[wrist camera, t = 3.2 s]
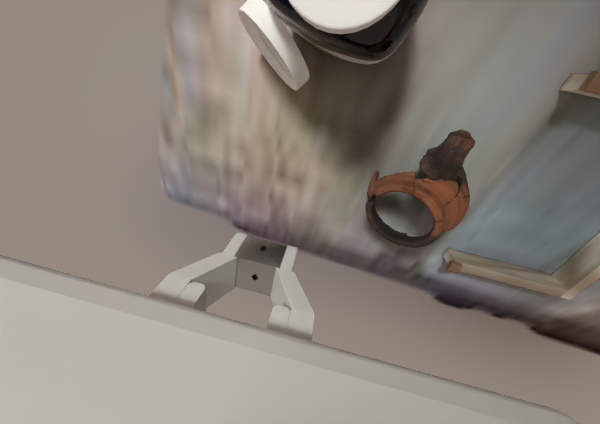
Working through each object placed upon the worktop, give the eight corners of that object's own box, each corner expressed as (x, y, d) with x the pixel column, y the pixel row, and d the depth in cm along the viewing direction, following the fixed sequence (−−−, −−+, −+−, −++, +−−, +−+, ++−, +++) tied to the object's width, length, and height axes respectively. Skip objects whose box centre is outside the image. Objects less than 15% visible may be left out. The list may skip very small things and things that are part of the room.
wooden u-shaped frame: (563, 72, 19) (599, 71, 16) (751, 113, 18) (819, 120, 16) (437, 253, 30) (447, 271, 27) (553, 283, 29) (574, 304, 26)
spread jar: (431, -30, 17) (547, -170, 7) (355, 117, 23) (363, 147, 13) (286, -111, 17) (199, -389, 7) (245, 63, 22) (167, 52, 13)
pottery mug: (449, 222, 28) (429, 270, 23) (377, 189, 32) (347, 225, 27) (522, 128, 19) (514, 172, 15) (410, 98, 23) (376, 126, 18)
